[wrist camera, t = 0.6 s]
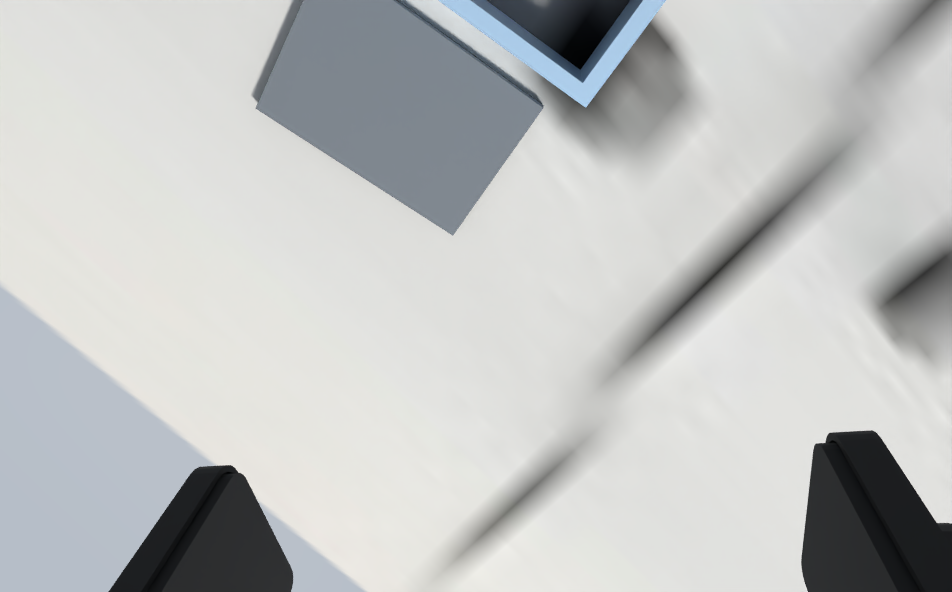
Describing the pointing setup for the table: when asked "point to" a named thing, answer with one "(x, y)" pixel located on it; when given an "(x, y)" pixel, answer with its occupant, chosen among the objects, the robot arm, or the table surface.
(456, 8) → the bin
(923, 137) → the table surface
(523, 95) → the mat
